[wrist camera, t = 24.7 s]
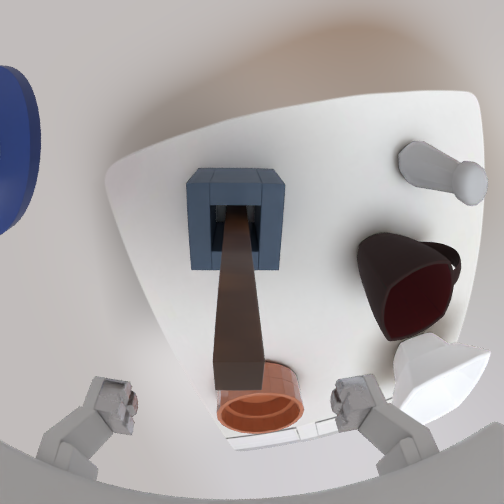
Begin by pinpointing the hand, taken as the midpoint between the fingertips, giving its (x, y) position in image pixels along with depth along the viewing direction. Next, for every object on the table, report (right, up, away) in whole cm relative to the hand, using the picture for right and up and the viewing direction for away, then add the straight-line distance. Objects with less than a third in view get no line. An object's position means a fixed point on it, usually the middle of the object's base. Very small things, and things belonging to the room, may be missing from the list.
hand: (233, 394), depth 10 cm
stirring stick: (-1, +11, +22) cm, 25 cm away
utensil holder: (-1, +11, +22) cm, 25 cm away
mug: (+20, +6, +26) cm, 33 cm away
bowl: (+32, -13, +36) cm, 50 cm away
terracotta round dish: (+2, -19, +37) cm, 42 cm away
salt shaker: (+21, +17, +21) cm, 34 cm away
